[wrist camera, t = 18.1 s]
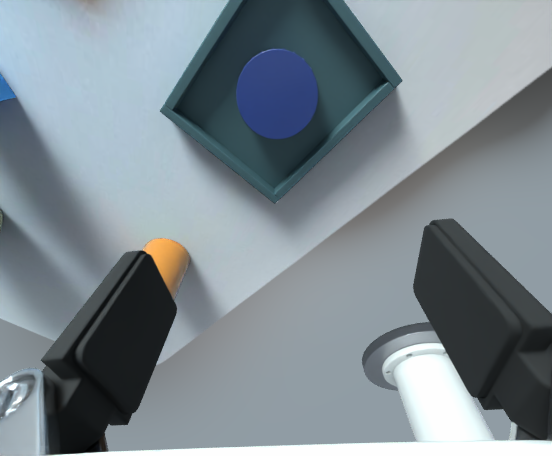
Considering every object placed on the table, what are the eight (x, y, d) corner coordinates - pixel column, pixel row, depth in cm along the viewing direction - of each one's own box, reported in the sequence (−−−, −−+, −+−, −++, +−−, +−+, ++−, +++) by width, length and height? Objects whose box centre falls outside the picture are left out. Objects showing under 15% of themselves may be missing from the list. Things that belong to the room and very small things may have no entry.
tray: (280, -74, 19) (281, -85, 17) (394, 78, 24) (403, 80, 22) (166, 107, 25) (159, 111, 24) (275, 195, 30) (274, 204, 29)
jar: (181, 235, 33) (147, 300, 25) (196, 271, 37) (171, 338, 28) (135, 240, 34) (87, 305, 25) (154, 275, 37) (117, 343, 29)
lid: (236, 47, 22) (232, 47, 20) (319, 48, 22) (323, 49, 20) (241, 131, 26) (238, 139, 24) (311, 133, 26) (314, 140, 24)
